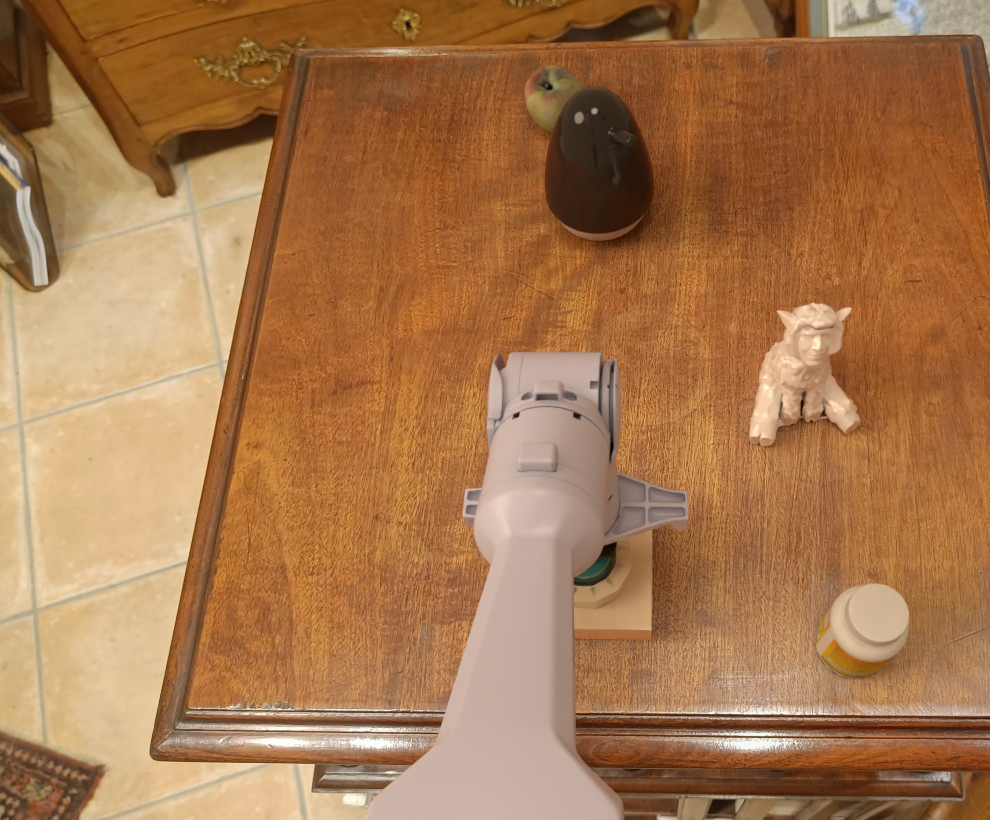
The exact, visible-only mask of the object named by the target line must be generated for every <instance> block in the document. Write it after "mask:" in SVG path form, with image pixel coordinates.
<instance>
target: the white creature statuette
mask: <svg viewBox="0 0 990 820" xmlns="http://www.w3.org/2000/svg"><path fill="white" fill-rule="evenodd" d="M852 309H853V308H852V307H850V306H847V307H843V308H840V309H838V310H837V311H835V310H834V308H833V307H832V306H829V305H828V304H825V303H822V302H820V303H816V302H811V303H808V304H804V305H799V306H797V307H795V308H794V309H793V311H792V312H791V311H789V310H788V311H787V310H783V309H778V310H775V312H776V313H777V314H778V316H779V319H780V321H781V323H782V324H783V326H784V327H785V330H784V333H783V338H782V340H781V341H776V342H775V343H774V345H771V348H770V350H769V351H766V353H765V356H764V358H763V359H764V360H763V361H762V362H761V363H762V364H761V368H760V369H759V372H758V380H757V384H758V385H759V386H758V387H757V392H756V395H755V397H754V404H755V407H754V409H753V410H752V413H751V417H750V420H749V424H750V425H749V432H748V441H749V443H750V444H752V445H755V446H758V445H760V446H761V447H769V446H772V445H773V444H774V443H775V440H776V438H777V431H778V429H779V428H782V427H785V426H786V427H790V426H791V425H792V424H793V426H795V425H796V424H797V423H798V422H799V420H801V419H803V420H804V421H805V422H806V423H808V424H809V423H810V422H811V421H812V423H813V424H814V423H816V422H817V421H823V420H828V421H830V422H831V423H833V424H836V426H837V427H838V428H839V430H841V432H843V433H844V435H849V434H850V433H853V432H854V431H855V430H856V429H857V428H858V427H859V426H860V425H861V423H862V419H861V417H860V415H859V414H858V413H857V411H858V406H856V404H854V400H853V399H852V398H850V397H849V396H848V395H847V393H846V392H845V391H844V390H843V389H842V388H841V386H840V385H839V384H838V382H837V378H835V377H834V376H833V374H832V373H833V369H832V364H831V362H832V361H831V358H830V357H831V356H832V355H834V354H836V353H838V352H839V351H840V350H841V349H842V348H843V337H842V336H843V333H844V330H845V323H844V322H843V321H844V320H845V319H846V318H847V317H848V316H849V315H850V314H851V312H852ZM802 401H803V406H802ZM801 406H802V408H801ZM823 412H824V414H825V415H824V416H821V415H822V413H823Z"/></svg>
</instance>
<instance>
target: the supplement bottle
mask: <svg viewBox="0 0 990 820" xmlns="http://www.w3.org/2000/svg"><path fill="white" fill-rule="evenodd" d="M909 631H910V610H909V606H908V604H907V602H906V600H905V599H904V597H903V596H902V595H901V594H900V592H899V591H897V589H894V588H893V587H892V586H889V585H887V584H883V583H876V582H872V583H871V582H870V583H867V584H857V585H854V586H851V587H849V588H846V589H845V590H844V591H842V592H841V593H840V594H839V595H838V596H837V597H836V598H835V599H834V601H833V603H832V604H831V605H830V606H829V608H828V610H827V611H826V613H825V614H824V615H823V617H822V618H821V620H820V621H819V623H818V625H817V629H816V632H815V648H816V651H817V653H818V656H819V657H820V659H821V661H822V662H823V663H824V665H825V666H826V667H827V668H829V669H830V670H831V671H833V672H834V673H835V674H837V675H839V676H841V677H845V678H848V679H863V678H867V677H869V676H872V675H873V674H875V673H876V672H878V671H879V670H880V669H881V668H882V667H884V666H885V665H886V664H887V663H888V662H889V661H890V660H891V659H893V658H894V657H895V656H896V655H898V653H899V652H901V650H902V649H903V647H904V646H905V644H906V643H907V640H908V637H909Z"/></svg>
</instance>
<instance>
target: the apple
mask: <svg viewBox="0 0 990 820" xmlns="http://www.w3.org/2000/svg"><path fill="white" fill-rule="evenodd" d="M584 88H585V87H584V86H583V84H582V82H581V81H580V79H579V77H578V76H577V75H576V74H575V73H574V72H573V71H571V70H570V69H569V68H567V67H565V66H563V65H560V64H556V65H555V64H554V65H553V64H552V65H550V64H549V65H542V66H541V67H538V69H536V70H535V71H534V72H533V73H532V74H531V75H530V76H529V78H528V79H527V80H526V82H525V85H524V91H523V95H524V101H525V106H526V109H527V112H528V113H529V115H530V117H531V119H532V121H533V122H534V123H535V124H536V125H537V126H539V127H541V128H542V129H544V130H545V131H547V132H548V133H550V134H552V131H553V128H554V125H555V123H556V120H557V118H558V116H559V114H560V112H561V110H562V108H563V107H564V105H565V104H566V102H567V101H568V100H569V99H570V98H571V97H572V96H573V95H574V94H575V93H576V92H578V91H580V90H582V89H584Z"/></svg>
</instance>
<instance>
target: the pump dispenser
mask: <svg viewBox="0 0 990 820" xmlns="http://www.w3.org/2000/svg"><path fill="white" fill-rule="evenodd" d="M583 88H584V89H582V90H580V91H578V92H576V93H575V94H574V95H573V96H572V97H571V98H570V99H569V100H568V101H567V102H566V104H565V105H564V107H563V108H562V110H561V112H560V114H559V116H558V118H557V120H556V123H555V125H554V128H553V131H552V133H550V139H549V142H548V147H547V151H546V158H545V167H544V194H545V200H546V204H547V206H548V208H549V210H550V212H551V213H552V214H553V216H554V218H556V220H558V221H559V223H560V224H561V225H562V226H563V227H564V229H566V230H567V231H568V232H570V233H571V234H573V235H575V236H577V237H579V238H581V239H585V240H589V241H596V242H602V241H603V242H604V241H610V240H615V239H617V238H620V237H622V236H624V235H626V234H627V233H629V232H630V231H632V230H633V229H634V228H635V227H636V226H637V225H638V224H639V223H640V222H641V220H642V219H643V217H644V216H645V214H646V213H647V211H648V210H649V209H650V206H651V205H652V202H653V199H654V195H655V175H654V169H653V165H652V160H651V156H650V152H649V149H648V146H647V142H646V139H645V138H644V135H643V132H642V129H641V127H640V126H639V122H638V121H637V119H636V117H635V115H634V113H633V112H632V110H631V109H630V107H629V105H627V103H626V102H625V101H624V100H623V99H622V98H621V97H620V96H619V95H618V94H616V93H615V92H614V91H613V90H611V89H609V88H606V87H603V86H588V87H583Z"/></svg>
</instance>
